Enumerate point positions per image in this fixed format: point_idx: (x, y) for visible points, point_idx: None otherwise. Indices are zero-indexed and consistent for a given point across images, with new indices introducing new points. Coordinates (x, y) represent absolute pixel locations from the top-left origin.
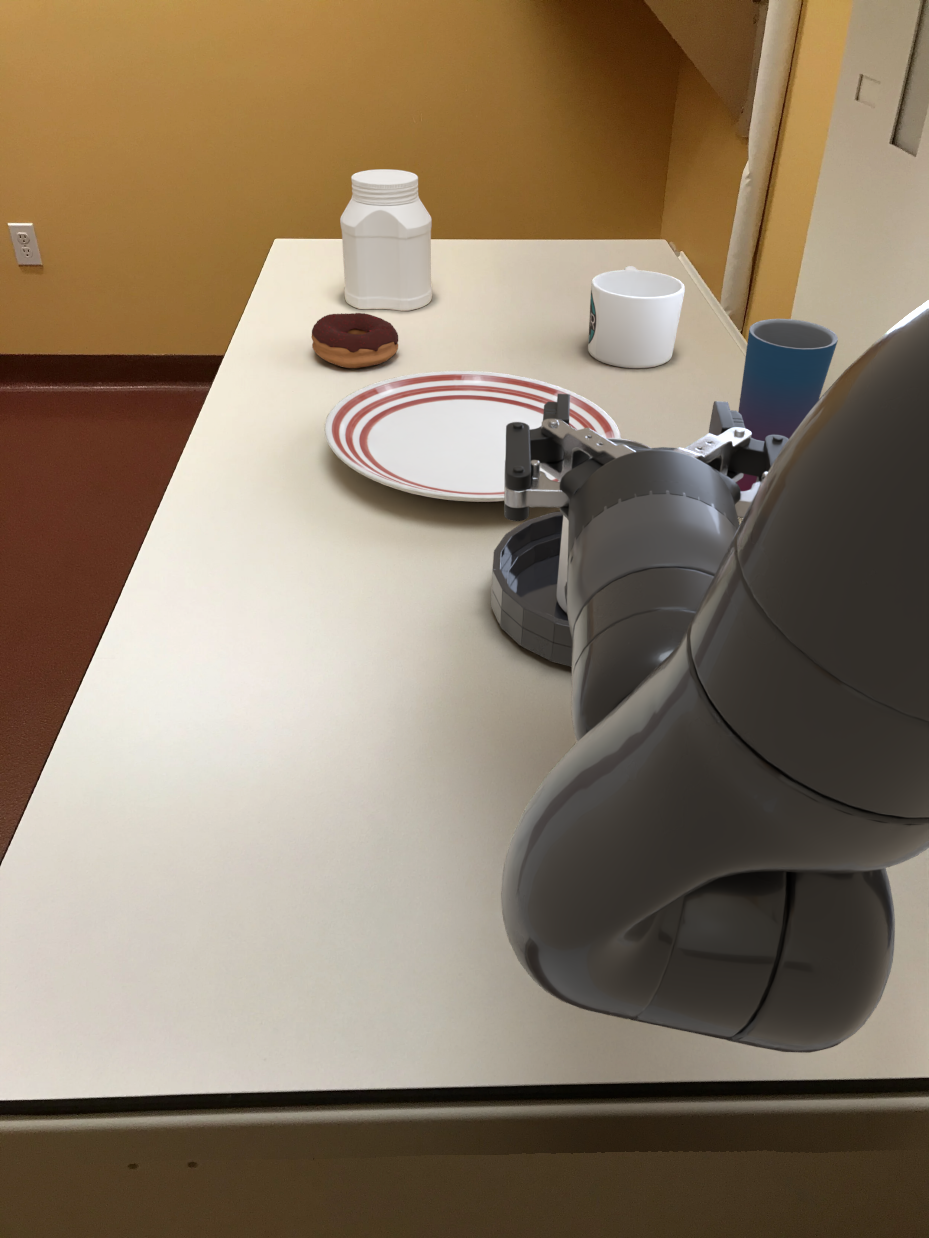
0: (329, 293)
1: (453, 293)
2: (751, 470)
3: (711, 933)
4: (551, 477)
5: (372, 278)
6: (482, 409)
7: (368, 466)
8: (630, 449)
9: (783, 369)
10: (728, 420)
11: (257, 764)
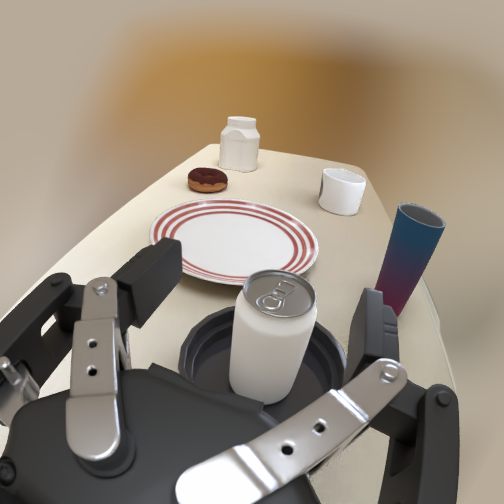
0: (214, 161)
1: (267, 168)
2: (388, 429)
3: None
4: None
5: (229, 156)
6: (250, 221)
7: None
8: (113, 423)
9: (416, 235)
10: (377, 335)
11: (6, 427)
